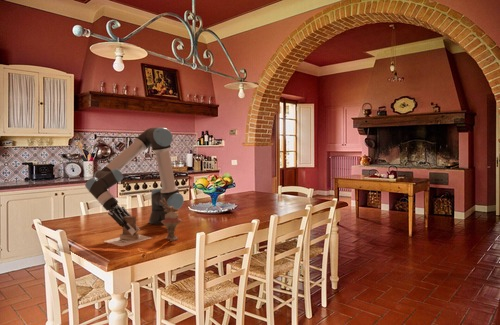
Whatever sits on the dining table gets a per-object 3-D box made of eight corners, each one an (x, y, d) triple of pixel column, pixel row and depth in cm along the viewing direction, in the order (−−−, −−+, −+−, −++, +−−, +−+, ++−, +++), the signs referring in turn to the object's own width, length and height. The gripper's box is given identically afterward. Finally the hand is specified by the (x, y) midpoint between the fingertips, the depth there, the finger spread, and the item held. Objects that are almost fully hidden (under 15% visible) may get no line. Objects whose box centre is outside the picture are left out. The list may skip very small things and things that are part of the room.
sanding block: (123, 237, 194) (123, 215, 193) (138, 238, 192) (138, 216, 192) (119, 238, 190) (119, 217, 189) (135, 240, 189) (135, 218, 188)
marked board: (134, 235, 203) (134, 233, 203) (152, 239, 194) (152, 237, 194) (103, 243, 187) (103, 241, 187) (121, 248, 178) (121, 246, 178)
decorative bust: (171, 232, 206) (171, 192, 201) (184, 239, 198) (184, 197, 192) (155, 237, 198) (154, 195, 193) (168, 245, 190) (167, 201, 184)
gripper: (112, 203, 201) (139, 232, 199) (94, 208, 184) (123, 241, 183) (120, 194, 200) (147, 224, 198) (103, 199, 183) (132, 231, 181)
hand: (136, 232), depth 190 cm, fingers closed on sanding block, 4 cm apart
